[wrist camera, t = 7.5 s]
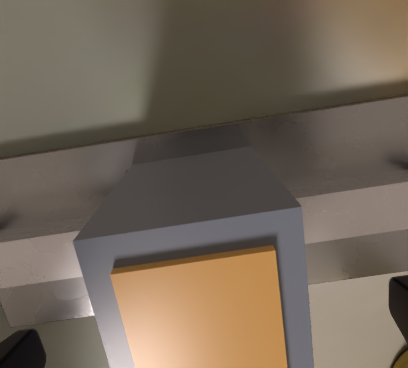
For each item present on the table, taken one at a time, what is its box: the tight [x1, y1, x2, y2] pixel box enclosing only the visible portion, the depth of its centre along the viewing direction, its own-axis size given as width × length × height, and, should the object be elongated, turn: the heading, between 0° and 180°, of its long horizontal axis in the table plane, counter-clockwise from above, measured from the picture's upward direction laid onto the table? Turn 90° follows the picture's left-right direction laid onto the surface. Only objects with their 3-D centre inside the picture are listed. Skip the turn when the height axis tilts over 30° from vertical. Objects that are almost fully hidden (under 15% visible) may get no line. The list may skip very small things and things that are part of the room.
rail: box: [0, 95, 408, 327], centre depth 14 cm, size 8×20×3 cm, turn 99°
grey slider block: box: [73, 146, 314, 368], centre depth 11 cm, size 6×5×7 cm
